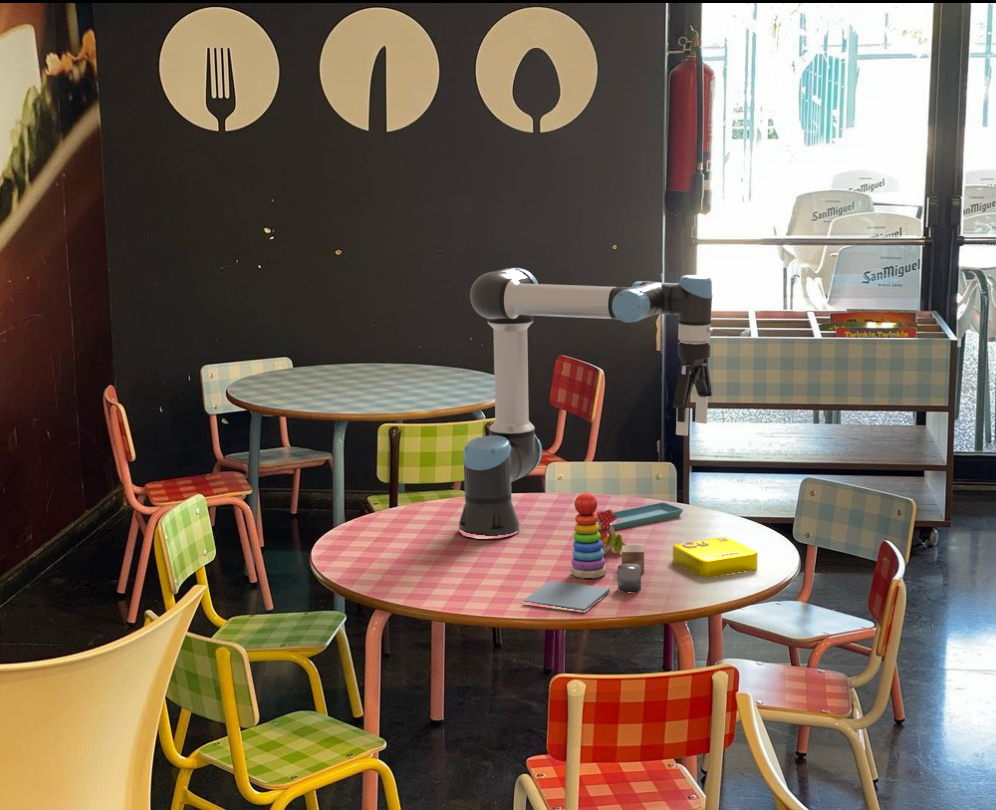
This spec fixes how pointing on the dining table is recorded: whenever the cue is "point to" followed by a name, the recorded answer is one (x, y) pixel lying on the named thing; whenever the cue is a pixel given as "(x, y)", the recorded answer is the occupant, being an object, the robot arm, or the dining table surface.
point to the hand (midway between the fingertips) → (691, 428)
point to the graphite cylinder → (629, 577)
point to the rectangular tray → (645, 515)
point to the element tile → (714, 557)
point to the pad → (567, 595)
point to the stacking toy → (587, 540)
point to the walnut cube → (633, 555)
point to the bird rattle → (609, 532)
